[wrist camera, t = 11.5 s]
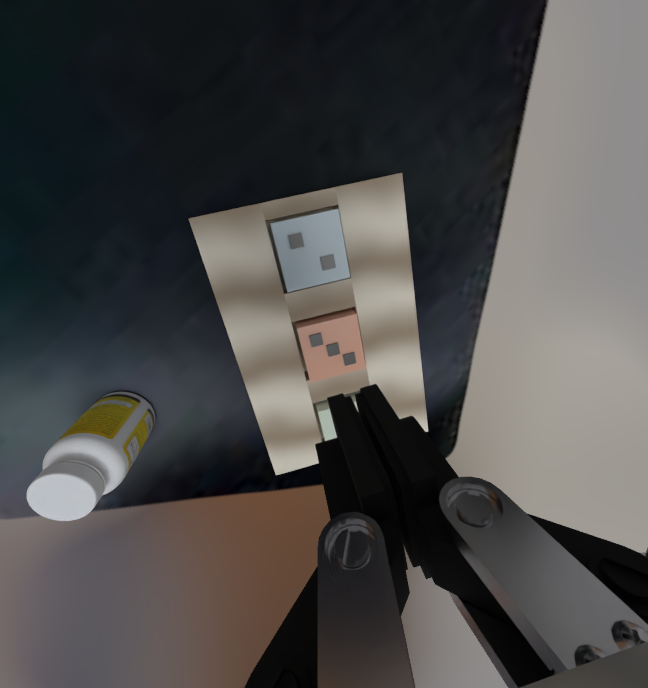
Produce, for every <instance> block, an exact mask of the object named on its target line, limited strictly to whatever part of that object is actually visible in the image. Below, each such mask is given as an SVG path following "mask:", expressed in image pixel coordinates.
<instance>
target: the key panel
mask: <svg viewBox="0 0 648 688" xmlns="http://www.w3.org/2000/svg"><path fill="white" fill-rule="evenodd" d="M335 209H339V215H340V221H341V227H342V232H343V238H344V244H345V249H346V255H347V261H348V267H349V272H350V277H349V278H345V279H341V280H337V281H333V282H329V283H324V284H320V285H316V286H312V287H308V288H304V289H300V290H295V291H291V292H287V289H286V285H285V281H284V278H283V274H282V270H281V266H280V262H279V258H278V254H277V250H276V246H275V242H274V238H273V234H272V230H271V226H270V224H271V223H276V222H280V221H285V220H289V219H294V218H298V217H303V216H307V215H312V214H317V213H321V212H326V211H330V210H335ZM189 222H190V225H191V228H192V230H193V233H194V236H195V239H196V242H197V245H198V248H199V251H200V254H201V257H202V260H203V263H204V266H205V269H206V271H207V274H208V277H209V280H210V283H211V286H212V289H213V292H214V295H215V298H216V301H217V304H218V307H219V310H220V312H221V315H222V318H223V321H224V324H225V327H226V330H227V333H228V336H229V339H230V342H231V345H232V348H233V351H234V354H235V356H236V359H237V362H238V365H239V368H240V371H241V374H242V377H243V380H244V383H245V386H246V389H247V392H248V395H249V397H250V400H251V403H252V406H253V409H254V412H255V415H256V418H257V421H258V424H259V427H260V430H261V433H262V436H263V438H264V441H265V444H266V447H267V450H268V453H269V456H270V459H271V462H272V465H273V468H274V471H275V474H276V475H279V474H283V473H286V472H290V471H293V470H297V469H300V468H303V467H307V466H310V465H314V464H317V463H319V461H318V456H317V452H316V447H315V444H317V443H320V442H324V441H325V439H324V436H323V432H322V428H321V424H320V420H319V416H318V412H317V408H316V404H315V403H316V402H320V401H323V400H327V397H331V396H334V395H338V394H341V393H343V394H344V395H346V394H349V393H353V392H357V391H360V388H363V387H366V386H370V385H373V384H377V385H378V387H379V389H380V390H381V392H382V393H383V395H384V396H385V398H386V399H387V401H388V402H389V404H390V405H391V407H392V408H393V410H394V411H395V413H396V414H397V416H398V417H399V419H402V418H405V417H408V416H413V417H414V418H415V419H416V420H417V421H418V423H419V424H420V425H421V427H422V428H423V429H424V431H425V432H428V424H427V415H426V405H425V395H424V385H423V375H422V365H421V355H420V345H419V335H418V325H417V316H416V306H415V296H414V286H413V276H412V266H411V256H410V246H409V236H408V226H407V217H406V207H405V197H404V187H403V177H402V173H399V174H394V175H390V176H385V177H380V178H376V179H371V180H366V181H362V182H357V183H352V184H348V185H343V186H338V187H334V188H329V189H324V190H320V191H315V192H310V193H306V194H301V195H296V196H292V197H287V198H282V199H278V200H273V201H268V202H264V203H259V204H254V205H250V206H245V207H240V208H236V209H231V210H226V211H222V212H217V213H212V214H208V215H203V216H198V217H194V218H189ZM347 308H351V309H352V310H353V311H354V312H355V313H356V314H357V318H358V324H359V330H360V336H361V341H362V347H363V353H364V359H365V364H366V368H364V369H361V370H357V371H353V372H349V373H346V374H342V375H338V376H334V377H331V378H327V379H323V380H319V381H316V382H312V383H310V379H309V376H308V372H307V368H306V364H305V361H304V357H303V353H302V349H301V345H300V341H299V337H298V333H297V329H296V325H295V321H299V320H303V319H307V318H311V317H315V316H319V315H323V314H327V313H331V312H335V311H339V310H343V309H347Z"/></svg>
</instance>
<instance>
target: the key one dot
mask: <svg viewBox="0 0 648 688" xmlns="http://www.w3.org/2000/svg"><path fill="white" fill-rule="evenodd" d="M358 393H360V391H357V392H353V393H349V394H346V395H344V397H347V396H351V398H352V400H353V402H354V404H355V406H356V409H357V411H358V408H357V403H356V398H355V394H358ZM315 404H316V408H317V412H318V416H319V420H320V424H321V428H322V432H323V436H324V439H325V441H327V440H330V439H334V438H337V435H336V431H335V428H334V424H333V420H332V416H331V412H330V408H329V404H328V400H323V401H320V402H316V403H315ZM358 413H359V412H358Z"/></svg>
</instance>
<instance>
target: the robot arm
mask: <svg viewBox="0 0 648 688" xmlns="http://www.w3.org/2000/svg"><path fill="white" fill-rule="evenodd" d="M355 398H356V403H357V408H358V411H357V409H356V406H355V404H354V402H353V400H352V398H351V396H347V397H344V394H343V393H341V394H338V395H334V396H331V397H327V400H328V404H329V408H330V412H331V416H332V420H333V424H334V428H335V431H336V435H337V438H334V439H330V440H327V441H324V442H320V443H317V444H315V447H316V452H317V456H318V461H319V466H320V471H321V476H322V481H323V485H324V490H325V495H326V500H327V505H328V509H329V514H330V519H331V520H330V521H329V522H328V524H327V525H326V526H325V527H324V529H323V530H322V532H321V535H320V537H319V542H318V566H317V568H316V570H315V571H314V573H313V574H312V576H311V577H310V579H309V581H308V582H307V584H306V586H305V587H304V589H303V590H302V592H301V594H300V595H299V597H298V599H297V600H296V602H295V603H294V605H293V607H292V608H291V610H290V612H289V613H288V615H287V617H286V618H285V620H284V621H283V623H282V625H281V626H280V628H279V629H278V631H277V633H276V634H275V636H274V638H273V639H272V641H271V642H270V644H269V646H268V647H267V649H266V650H265V652H264V654H263V655H262V657H261V659H260V660H259V662H258V663H257V665H256V667H255V669H254V670H253V672H252V673H251V675H250V677H249V679H248V681H247V684H246V685H245V686H244V687H242V688H415V683H414V679H413V674H412V668H411V664H410V659H409V654H408V649H407V644H406V639H405V634H404V630H403V624H402V619H401V614H402V612H403V609H404V606H405V604H406V601H407V598H408V596H409V593H410V592H409V586H408V581H407V575H406V570H407V569H408V568H407V562H406V557H405V551H404V547H405V549H406V552H407V554H408V556H409V559H410V561H411V563H412V565H413V567H417V566H421V568H422V571H423V573H424V575H425V578H426V579H428V578H431V577H432V579H433V581H434V583H435V584H436V585H438V586H440V587H441V588H443V589H445V590H447V591H449V593H450V595H451V597H452V599H453V601H454V603H455V605H456V606H457V608H458V609H459V611H460V613H461V614H462V616H463V617H464V619H465V620H466V622H467V623H468V625H469V627H470V628H471V630H472V631H473V633H474V635H475V636H476V638H477V639H478V641H479V642H480V644H481V646H482V647H483V648H484V650H485V652H486V653H487V655H488V657H489V658H490V660H491V661H492V663H493V664H494V666H495V668H496V669H497V670H498V672H499V674H500V675H501V677H502V678H503V680H504V682H505V683H506V685H507V686H508V688H648V548H647V551H646V553H638V552H636V551H634V550H631V549H629V548H627V547H625V546H622V545H619V544H616V543H613V542H610V541H607V540H604V539H601V538H598V537H595V536H592V535H589V534H586V533H583V532H580V531H577V530H574V529H571V528H568V527H565V526H562V525H560V524H556V523H554V522H551V521H547V520H545V519H541V518H538V517H536V516H533V515H530V514H526V513H525V512H524V511H523V510H522V509H521V508H520V507H519V506H518V505H516V504H515V503H514V502H513V501H512V500H511V499H510V498H509V497H508V496H507V495H506V494H504V493H503V492H502V491H501V490H500V489H499V488H497V487H496V486H495V485H493V484H492V483H490V482H487V481H485V480H483V479H480V478H475V477H458V475H457V474H456V473H455V471H454V470H453V469H452V467H451V466H450V465H449V463H448V462H447V461H446V459H445V458H444V456H443V455H442V454H441V452H440V451H439V450H438V448H437V447H436V446H435V444H434V443H433V442H432V440H431V439H430V437H429V436H428V435H427V433H426V432H425V431H424V429H423V428H422V427H421V425H420V424H419V423H418V421H417V420H416V419H415V418H414V417H413V416H408V417H405V418H402V419H399V417H398V416H397V414H396V413H395V411H394V410H393V408H392V407H391V405H390V404H389V402H388V401H387V399H386V398H385V396H384V395H383V393H382V392H381V390H380V389H379V387H378V385H377V384H373V385H370V386H366V387H363V388H360V393H358V394H355ZM358 412H359V413H358ZM403 544H404V545H403Z"/></svg>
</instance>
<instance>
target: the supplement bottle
mask: <svg viewBox="0 0 648 688" xmlns="http://www.w3.org/2000/svg"><path fill="white" fill-rule="evenodd" d="M154 424H155V413H154V410H153V408H152V406H151V405H150V404H149V403H148V402H147V401H146V400H145V399H144V398H142V397H140V396H138V395H136V394H133V393H129V392H114V393H110V394H107V395H105V396H103V397H102V398H100V399H99V400H98V401H97V402H96V403H94V404H93V405H92V406H91V407H90V408H89V409H88V410H87V411H86V412H85V413H84V414H83V415H82V416H81V417H80V418H79V419H78V420H77V421H76V422H75V424H74V425H73V426H72V427H71V428H70V429H69V430H68V431H67V432H66V433H65V434H64V435H63V436H62V437H61V438H60V439H59V440H58V441H57V442H56V443H55V444H54V445H53V446H52V447H51V448H50V449H49V451H48V452H47V453H46V455H45V458H44V460H43V471H42V472H41V473H40V474H39V475H38V477H37V478H36V479H35V480H34V481H33V482H32V483H31V485H30V486H29V488H28V490H27V501H28V503H29V505H30V506H31V508H32V509H33V510H34V511H36V512H37V513H38V514H40V515H41V516H43V517H46V518H49V519H52V520H58V521H71V520H76V519H79V518H81V517H84V516H86V515H87V514H88V513H90V512H91V511H92V510H93V508H94V507H95V506H96V504H97V502H98V501H99V500H100V498H101V496H102V495H104V494H107V493H109V492H110V491H112V490H113V489H115V488H116V487H117V486H118V485H119V484H120V483H121V482H122V480H123V479H124V477H125V476H126V474H127V473H128V471H129V469H130V467H131V466H132V464H133V462H134V460H135V459H136V457H137V455H138V454H139V452H140V450H141V449H142V447H143V445H144V443H145V442H146V440H147V438H148V437H149V435H150V433H151V431H152V429H153V427H154Z"/></svg>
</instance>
